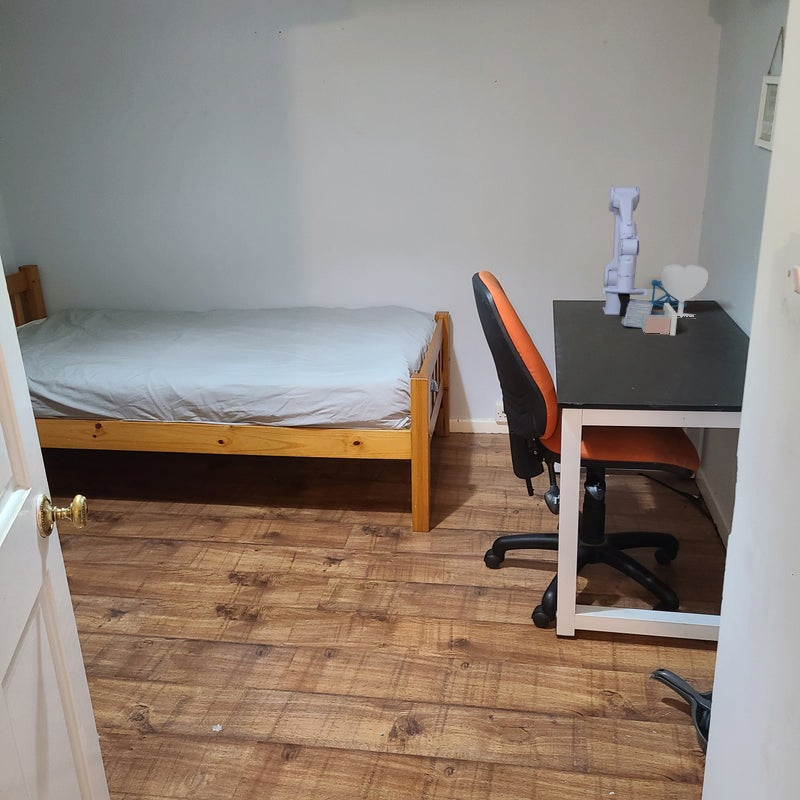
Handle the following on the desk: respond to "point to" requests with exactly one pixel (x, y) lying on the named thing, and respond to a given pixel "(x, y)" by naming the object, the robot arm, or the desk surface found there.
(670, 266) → the heart sculpture
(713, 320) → the desk surface
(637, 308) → the medicine box
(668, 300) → the molecular structure
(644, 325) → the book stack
